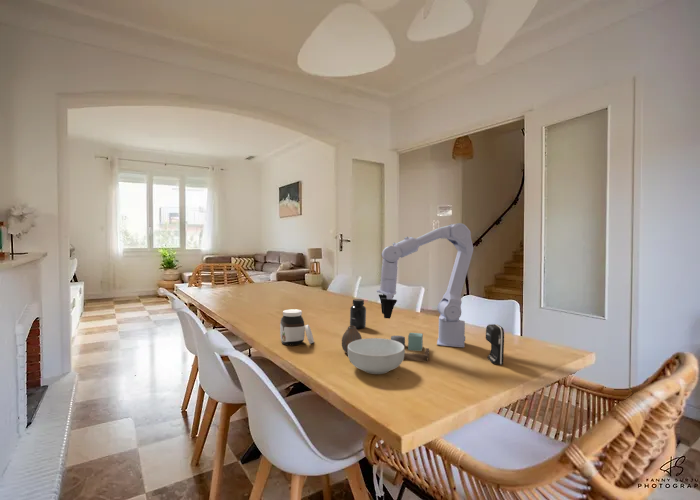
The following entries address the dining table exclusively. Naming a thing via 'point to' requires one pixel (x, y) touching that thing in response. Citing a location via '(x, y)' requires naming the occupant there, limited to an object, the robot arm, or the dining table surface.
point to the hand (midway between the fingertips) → (386, 315)
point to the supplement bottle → (358, 314)
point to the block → (415, 341)
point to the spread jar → (294, 328)
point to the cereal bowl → (376, 354)
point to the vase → (350, 337)
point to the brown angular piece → (417, 356)
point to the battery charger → (495, 343)
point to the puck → (399, 339)
